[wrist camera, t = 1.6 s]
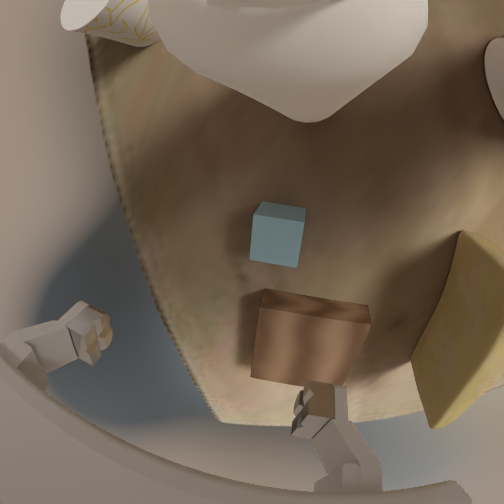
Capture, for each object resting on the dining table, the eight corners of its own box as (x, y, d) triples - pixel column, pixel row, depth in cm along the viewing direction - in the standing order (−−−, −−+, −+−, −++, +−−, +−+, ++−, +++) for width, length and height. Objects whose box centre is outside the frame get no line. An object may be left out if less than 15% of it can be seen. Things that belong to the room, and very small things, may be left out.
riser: (367, 305, 33) (371, 324, 30) (339, 371, 40) (339, 390, 36) (265, 288, 36) (259, 306, 32) (255, 358, 42) (250, 377, 38)
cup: (137, 58, 25) (70, 44, 15) (116, 24, 23) (55, 8, 13) (187, 19, 22) (131, -17, 12) (161, -13, 20) (107, -45, 9)
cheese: (433, 361, 36) (453, 433, 22) (388, 354, 36) (402, 435, 23) (502, 247, 25) (561, 307, 12) (459, 225, 26) (525, 290, 13)
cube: (306, 208, 30) (304, 222, 26) (299, 248, 32) (296, 268, 28) (262, 201, 31) (253, 214, 26) (258, 241, 33) (249, 259, 29)
